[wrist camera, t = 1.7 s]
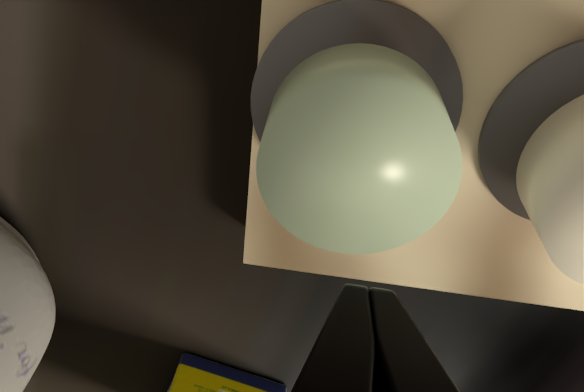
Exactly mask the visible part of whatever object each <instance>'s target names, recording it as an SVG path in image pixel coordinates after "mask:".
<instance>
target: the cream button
mask: <svg viewBox="0 0 584 392" xmlns="http://www.w3.org/2000/svg"><path fill="white" fill-rule="evenodd" d="M516 185H517V191H518V194H519V197H520V200H521V202H522V204H523V206H524V208H525V210H526V212H527V214H528V216H529V218H530V220H531V222H532V224H533V226H534V228H535V230H536V232H537V234H538V236H539V238H540V240H541V242H542V244H543V246H544V248H545V250H546V252H547V254H548V255H549V257H550V259H551V261H552V262H553V263H554V265H555V266H556V267H557V268H558V269H559V270H560V271H561V272H562V273H563V274H565V275H566V276H568V277H569V278H571V279H572V280H574V281H576V282H579V283H581V284H583V285H584V95H582V96H580V97H578V98H575V99H573V100H572V101H570V102H569V103H567V104H565V105H564V106H562V107H561V108H559V109H558V110H557V111H556V112H554V113H553V114H552V115H550V116H549V117H548V118H547V119H546V120H545V121H544V122H543V123H542V124H541V125H540V126H539V127H538V128H537V130H536V131H535V132H534V133H533V135H532V136H531V137H530V139H529V140H528V142H527V143H526V145H525V147H524V149H523V151H522V153H521V156H520V159H519V162H518V166H517V172H516Z"/></svg>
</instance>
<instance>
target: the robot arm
mask: <svg viewBox="0 0 584 392" xmlns="http://www.w3.org/2000/svg"><path fill="white" fill-rule="evenodd" d="M291 392H460V391H459V389H458V388H457V386H456V385H455V383H454V382H453V380H452V379H451V377H450V376H449V374H448V373H447V371H446V370H445V368H444V367H443V365H442V364H441V362H440V360H439V359H438V357H437V356H436V354H435V353H434V351H433V350H432V348H431V347H430V345H429V344H428V342H427V341H426V339H425V338H424V336H423V335H422V333H421V332H420V330H419V329H418V327H417V326H416V324H415V323H414V321H413V319H412V318H411V316H410V315H409V313H408V312H407V310H406V309H405V307H404V306H403V304H402V303H401V301H400V300H399V298H398V297H397V295H396V294H395V292H393V291H392V290H390V289H383V288H376V287H371V288H369V289H368V288H367V287H366V286H362V285H354V284H345V285H344V286H343V287H342V289H341V291H340V293H339V295H338V297H337V299H336V301H335V303H334V305H333V307H332V309H331V311H330V313H329V315H328V317H327V320H326V322H325V324H324V326H323V328H322V330H321V332H320V334H319V336H318V338H317V340H316V342H315V344H314V346H313V348H312V350H311V352H310V354H309V356H308V358H307V360H306V362H305V364H304V366H303V368H302V370H301V372H300V374H299V376H298V378H297V380H296V382H295V384H294V386H293V388H292V391H291Z"/></svg>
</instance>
